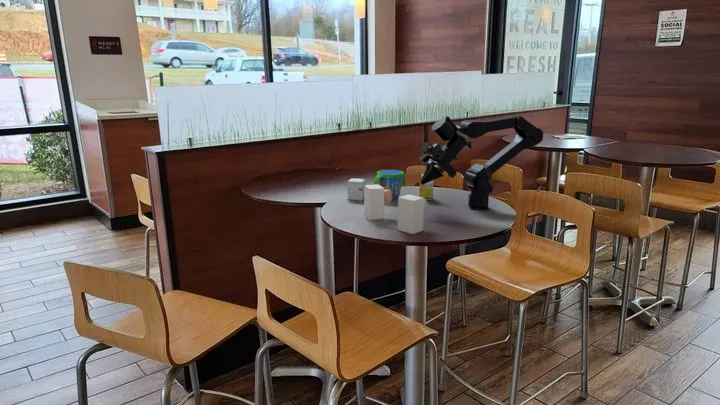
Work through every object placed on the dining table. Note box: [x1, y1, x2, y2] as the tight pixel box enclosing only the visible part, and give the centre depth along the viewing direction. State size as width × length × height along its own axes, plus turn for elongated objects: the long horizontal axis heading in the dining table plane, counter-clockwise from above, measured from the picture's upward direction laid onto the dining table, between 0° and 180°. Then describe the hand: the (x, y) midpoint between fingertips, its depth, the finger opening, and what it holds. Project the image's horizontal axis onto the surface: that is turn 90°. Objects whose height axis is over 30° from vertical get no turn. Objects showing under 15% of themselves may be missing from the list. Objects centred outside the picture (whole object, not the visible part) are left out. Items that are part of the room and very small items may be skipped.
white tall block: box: [363, 183, 385, 221], centre depth 165 cm, size 5×6×10 cm
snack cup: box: [373, 169, 407, 200], centre depth 191 cm, size 16×10×10 cm
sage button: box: [423, 199, 429, 213], centre depth 152 cm, size 6×4×4 cm
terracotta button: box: [384, 189, 393, 204], centre depth 165 cm, size 6×4×4 cm
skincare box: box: [347, 178, 367, 201], centre depth 190 cm, size 6×6×7 cm
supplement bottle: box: [418, 173, 434, 201], centre depth 189 cm, size 5×5×10 cm
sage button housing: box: [397, 194, 425, 235], centre depth 150 cm, size 5×6×10 cm
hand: (421, 183), depth 168 cm, fingers closed
